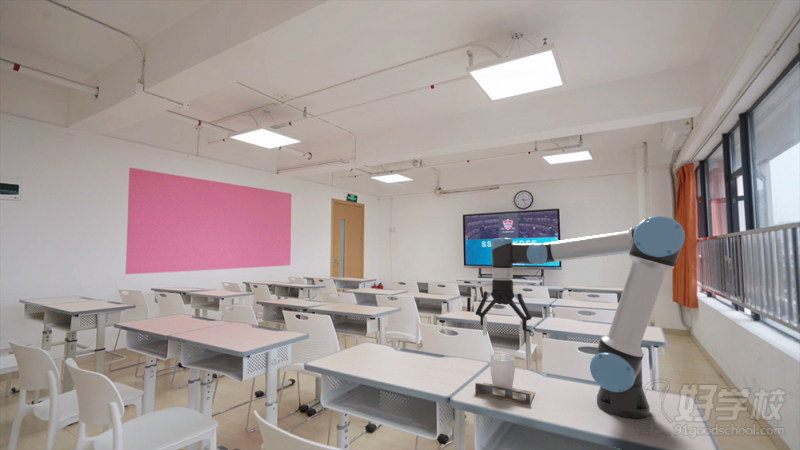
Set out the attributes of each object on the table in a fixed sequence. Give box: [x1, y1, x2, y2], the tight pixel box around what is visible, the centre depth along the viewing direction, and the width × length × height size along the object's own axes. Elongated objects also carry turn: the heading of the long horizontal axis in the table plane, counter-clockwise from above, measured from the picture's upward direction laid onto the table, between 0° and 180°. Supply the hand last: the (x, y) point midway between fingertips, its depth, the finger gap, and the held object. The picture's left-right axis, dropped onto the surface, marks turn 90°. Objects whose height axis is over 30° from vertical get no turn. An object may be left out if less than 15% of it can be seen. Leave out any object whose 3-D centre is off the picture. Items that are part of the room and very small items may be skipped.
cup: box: [489, 353, 516, 389], centre depth 135 cm, size 9×9×12 cm
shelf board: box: [474, 382, 536, 406], centre depth 133 cm, size 19×11×4 cm, turn 62°
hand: (503, 336), depth 136 cm, fingers open, 13 cm apart
